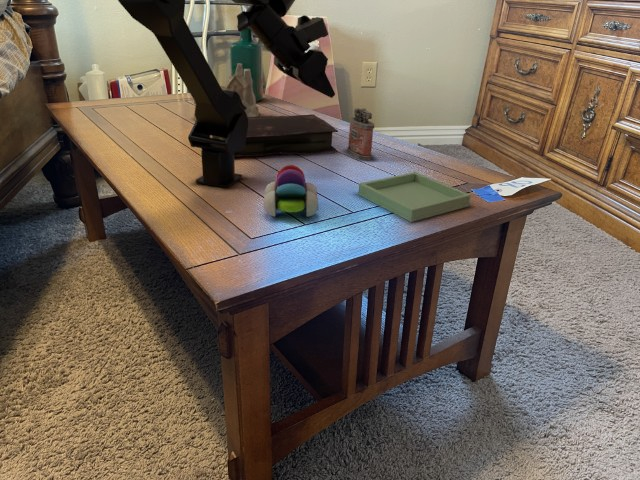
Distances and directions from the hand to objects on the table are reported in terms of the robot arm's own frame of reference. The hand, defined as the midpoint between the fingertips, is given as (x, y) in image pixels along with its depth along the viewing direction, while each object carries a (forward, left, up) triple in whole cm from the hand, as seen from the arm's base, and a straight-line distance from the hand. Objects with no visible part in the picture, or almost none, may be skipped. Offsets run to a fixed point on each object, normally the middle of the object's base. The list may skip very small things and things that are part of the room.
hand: (325, 91), depth 104 cm
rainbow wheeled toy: (-31, -4, -14) cm, 34 cm away
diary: (+3, +13, -14) cm, 19 cm away
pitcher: (+47, +39, -14) cm, 63 cm away
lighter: (+4, -7, -14) cm, 16 cm away
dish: (-18, -22, -14) cm, 32 cm away
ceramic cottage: (+23, +34, -14) cm, 43 cm away
